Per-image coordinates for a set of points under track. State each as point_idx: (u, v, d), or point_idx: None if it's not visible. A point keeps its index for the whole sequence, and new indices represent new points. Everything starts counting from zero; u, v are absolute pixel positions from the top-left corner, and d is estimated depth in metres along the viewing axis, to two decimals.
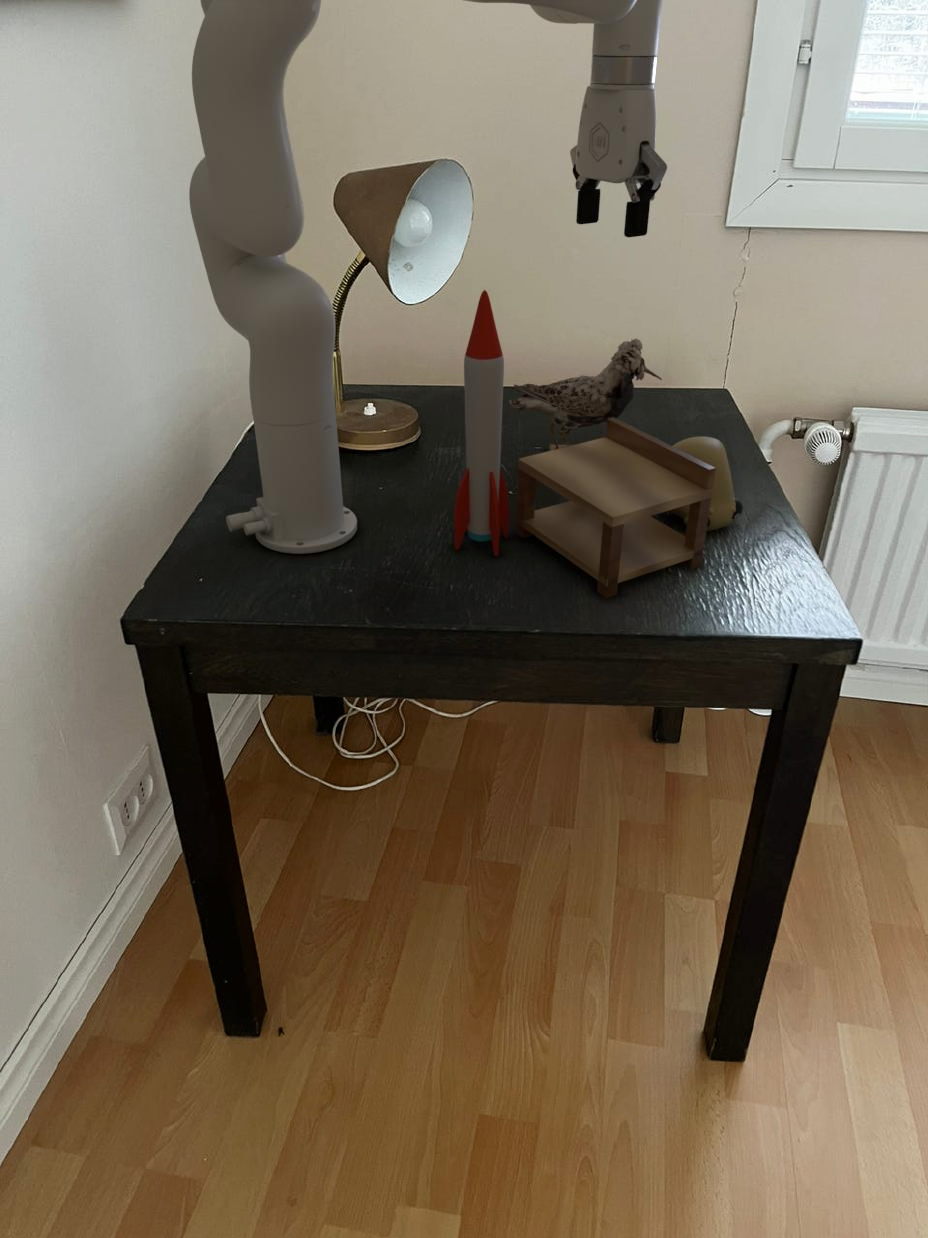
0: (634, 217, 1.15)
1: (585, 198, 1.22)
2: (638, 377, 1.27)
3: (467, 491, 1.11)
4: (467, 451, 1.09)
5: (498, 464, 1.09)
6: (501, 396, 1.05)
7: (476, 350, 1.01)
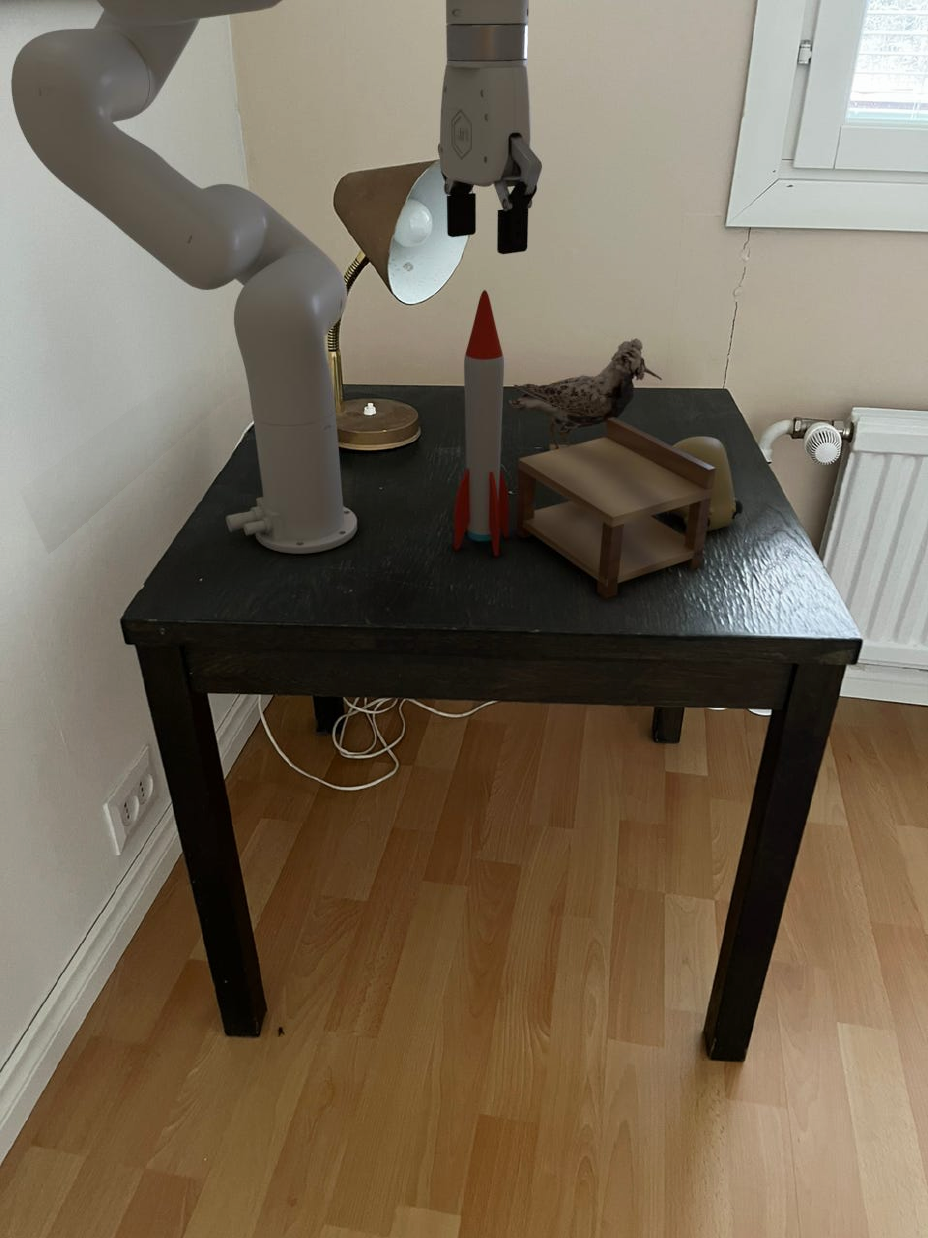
0: (508, 228, 0.91)
1: (456, 205, 0.98)
2: (638, 377, 1.27)
3: (467, 491, 1.11)
4: (467, 451, 1.09)
5: (498, 464, 1.09)
6: (501, 396, 1.05)
7: (476, 350, 1.01)
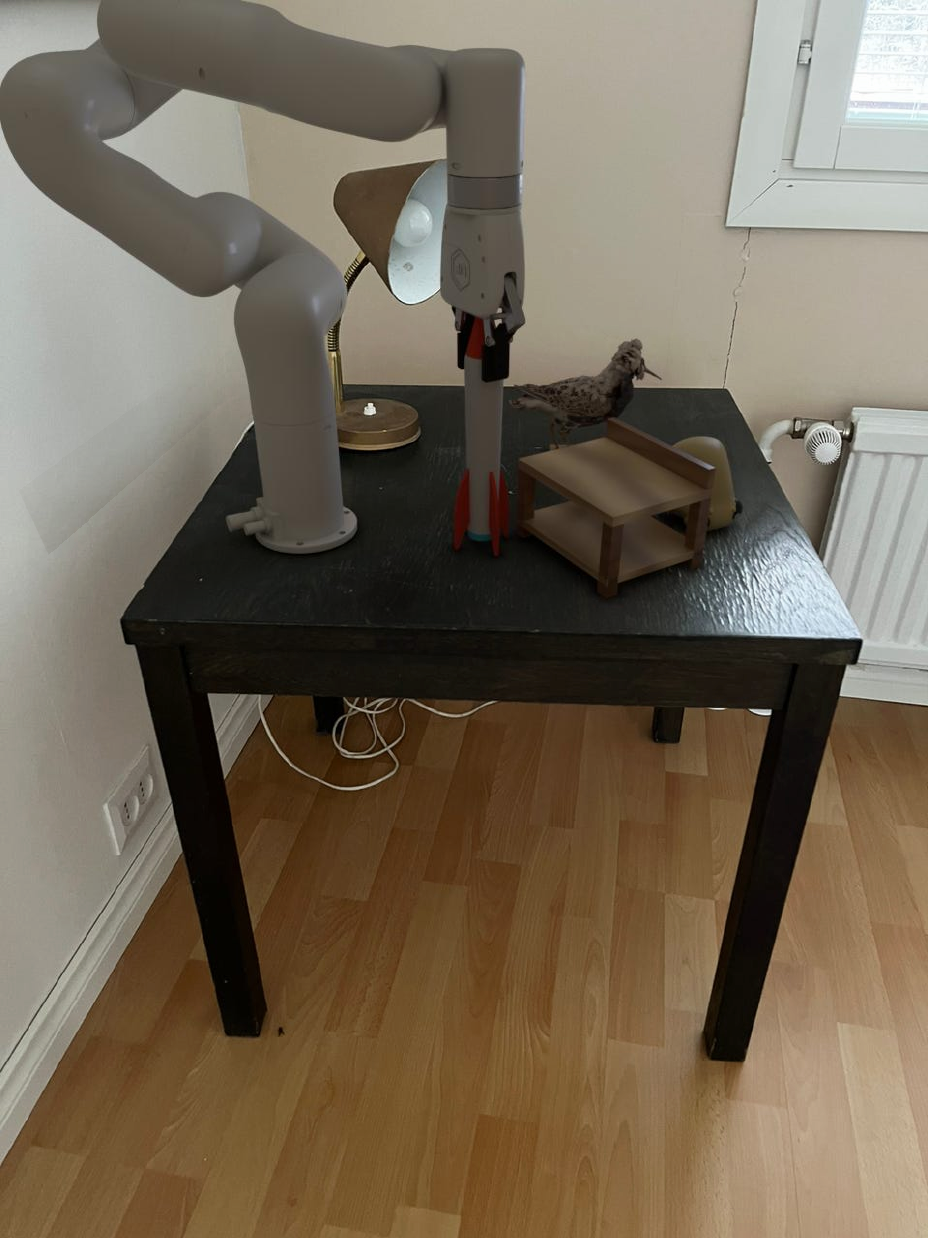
0: (491, 361, 1.01)
1: (466, 341, 1.04)
2: (638, 377, 1.27)
3: (467, 491, 1.11)
4: (467, 451, 1.09)
5: (498, 464, 1.09)
6: (501, 396, 1.05)
7: (477, 350, 1.01)
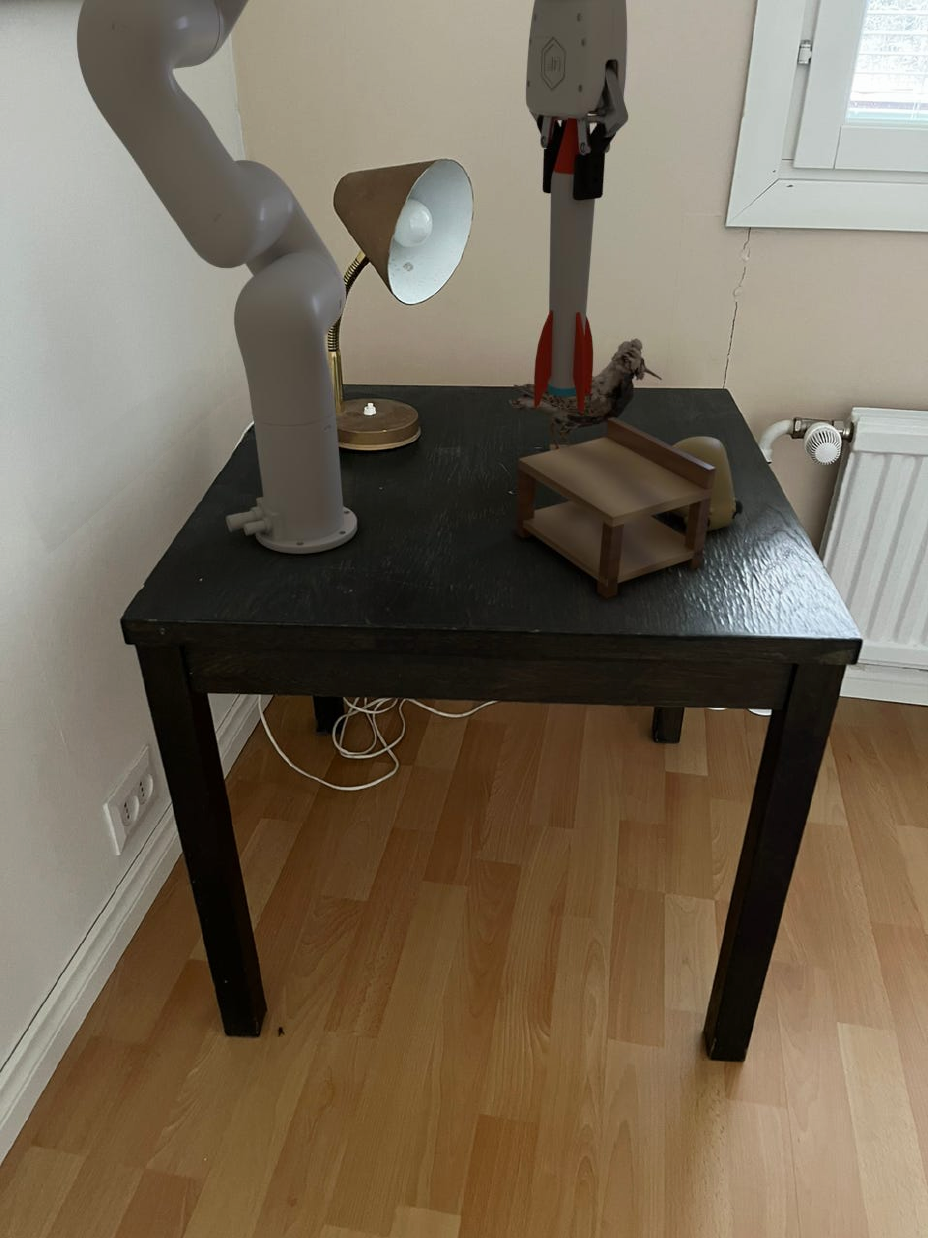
0: (585, 173, 0.90)
1: (553, 159, 0.93)
2: (638, 377, 1.27)
3: (550, 337, 1.00)
4: (551, 289, 0.98)
5: (585, 304, 0.99)
6: (592, 222, 0.94)
7: (567, 163, 0.91)
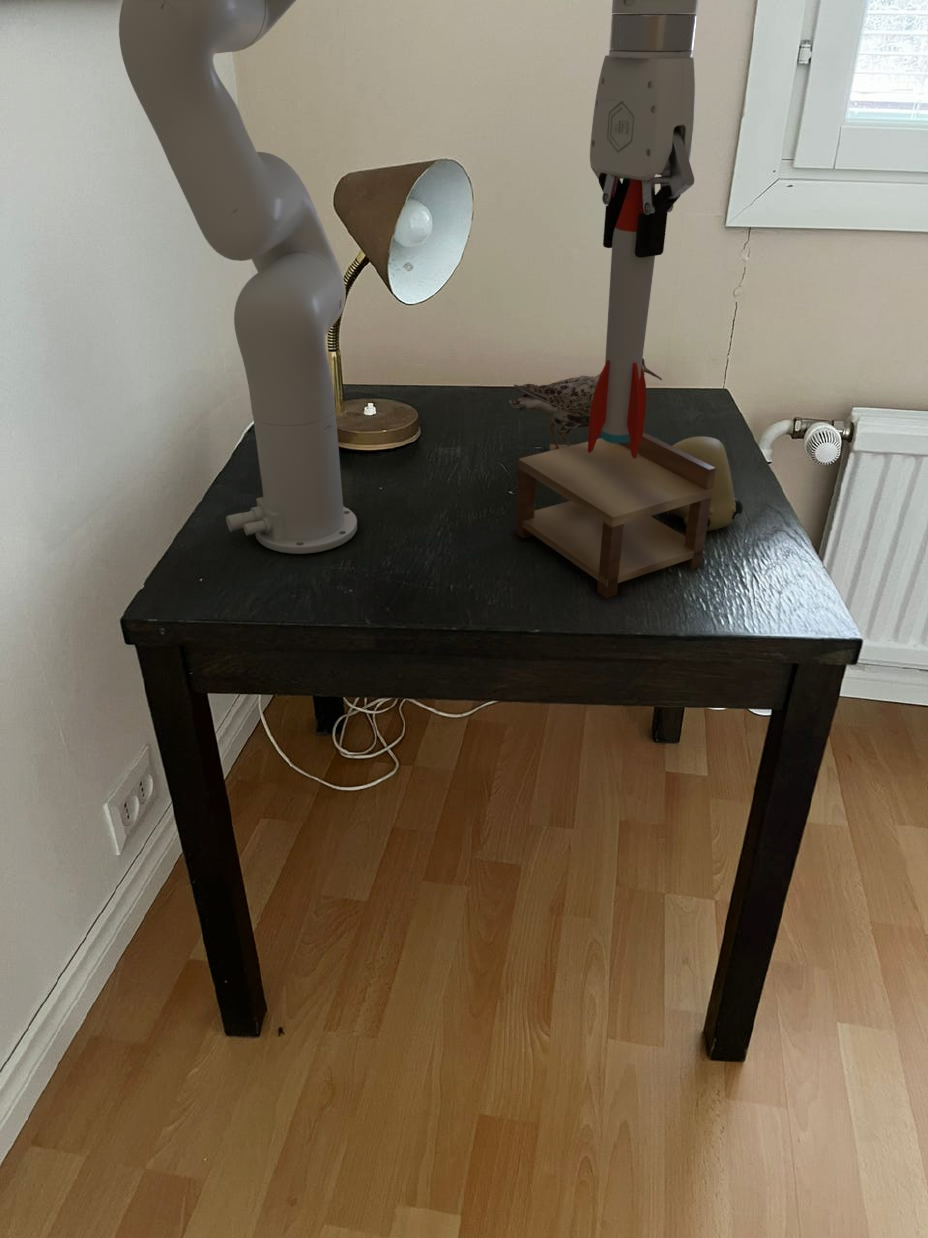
0: (648, 232, 0.92)
1: (615, 215, 0.95)
2: None
3: (606, 386, 1.02)
4: (609, 340, 1.00)
5: (642, 355, 1.01)
6: (652, 276, 0.96)
7: (630, 221, 0.93)
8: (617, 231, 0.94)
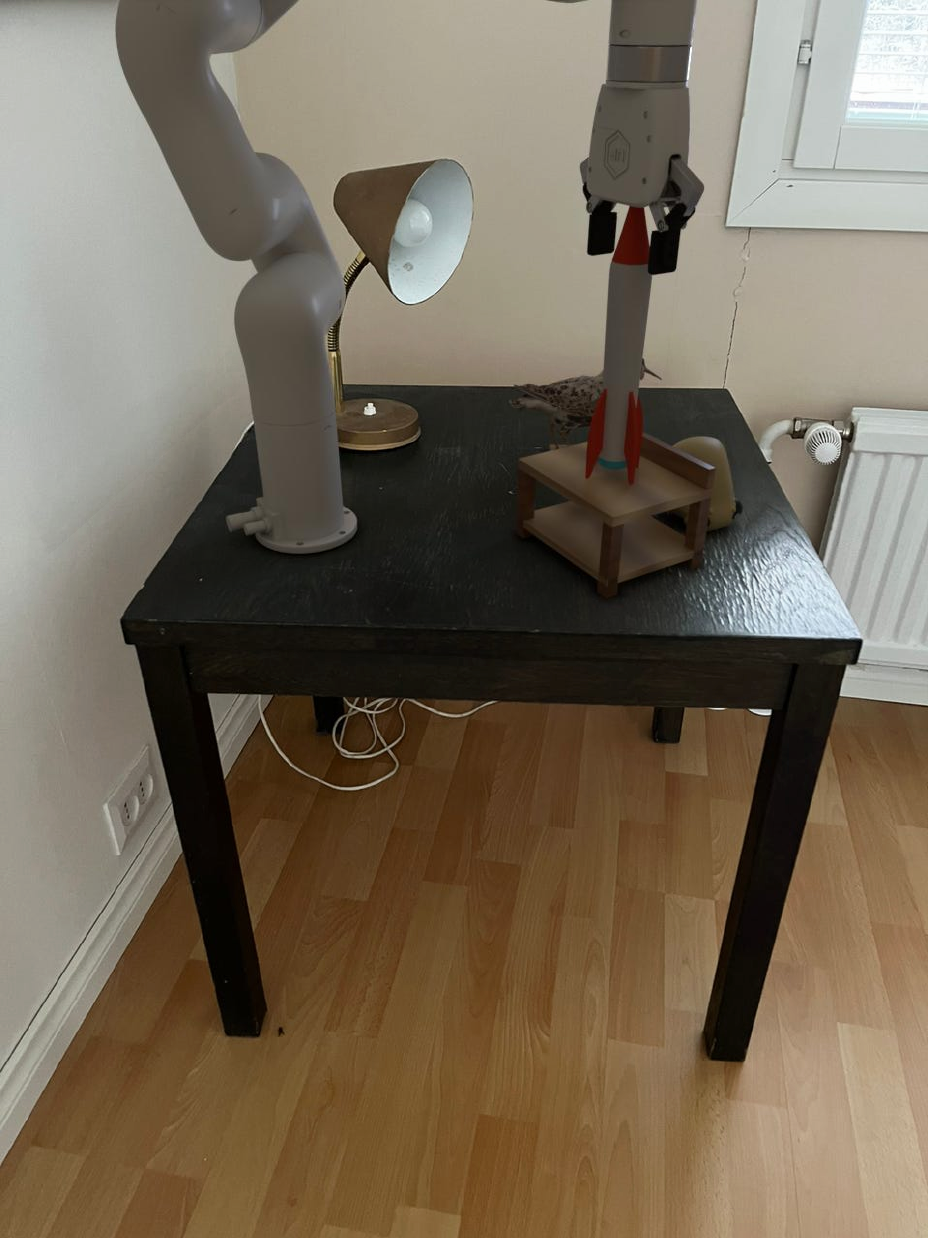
0: (661, 249, 0.91)
1: (598, 224, 0.98)
2: None
3: (603, 414, 1.04)
4: (606, 369, 1.02)
5: (638, 384, 1.02)
6: (648, 307, 0.98)
7: (627, 254, 0.95)
8: (613, 264, 0.96)
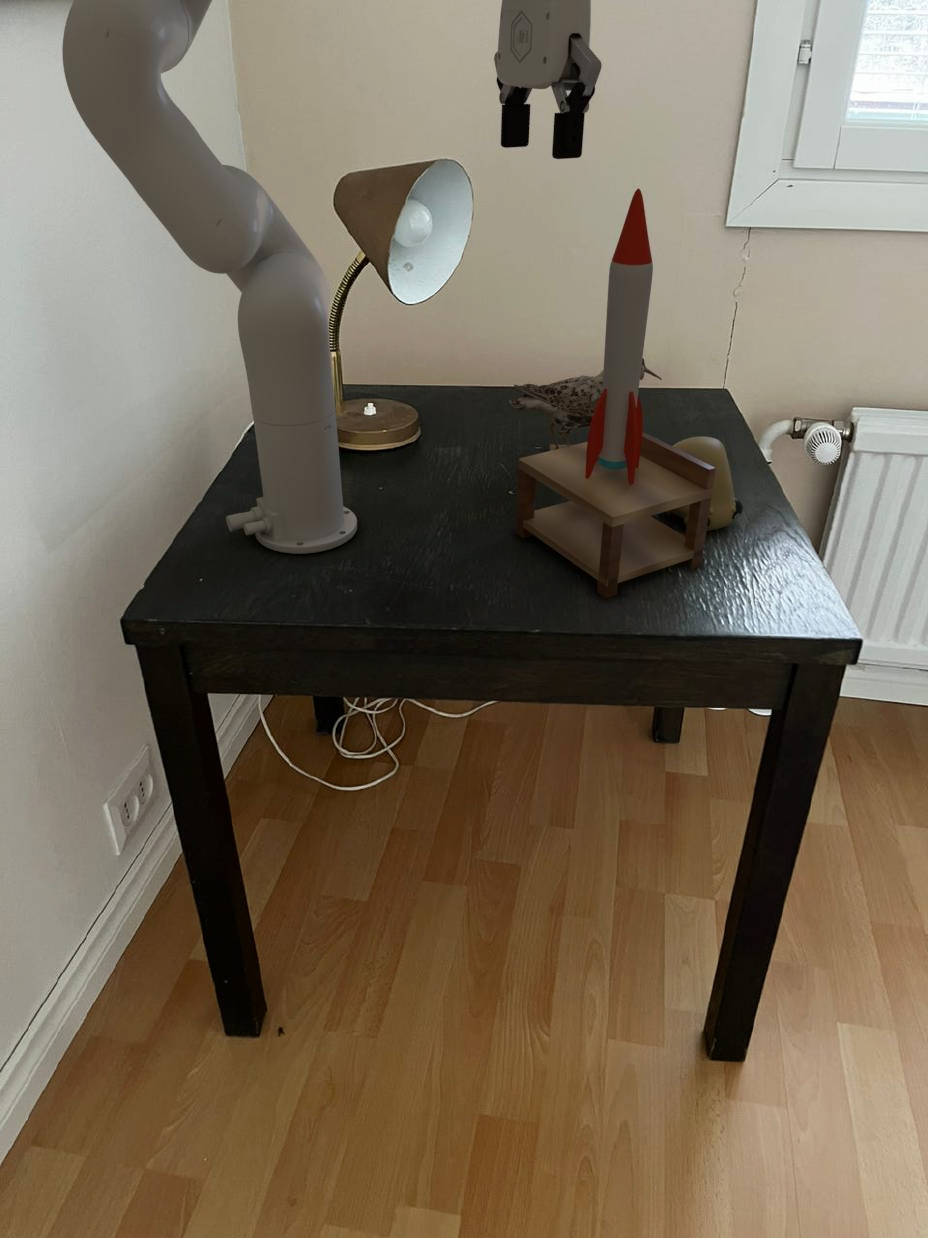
0: (564, 132, 0.92)
1: (510, 114, 0.99)
2: None
3: (603, 414, 1.04)
4: (606, 369, 1.02)
5: (638, 384, 1.02)
6: (648, 308, 0.98)
7: (627, 254, 0.95)
8: (614, 264, 0.96)
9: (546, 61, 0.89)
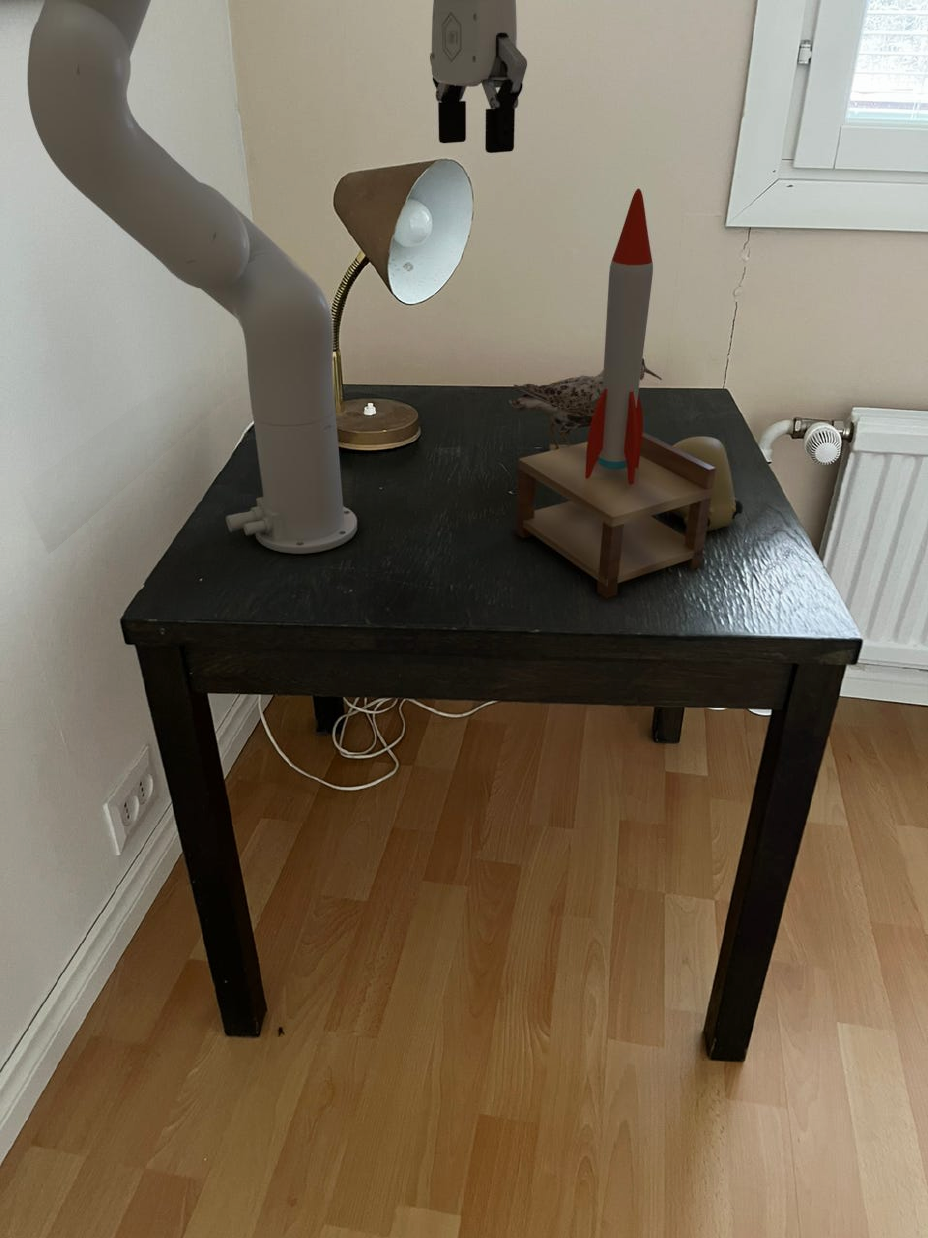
0: (496, 127, 0.97)
1: (447, 111, 1.03)
2: None
3: (603, 414, 1.04)
4: (606, 369, 1.02)
5: (638, 384, 1.02)
6: (648, 308, 0.98)
7: (627, 254, 0.95)
8: (614, 264, 0.96)
9: (475, 60, 0.94)
